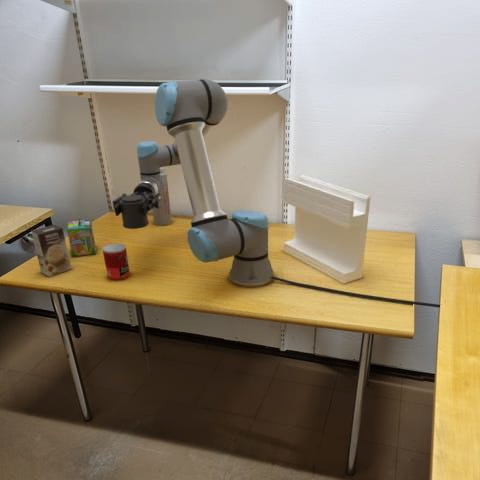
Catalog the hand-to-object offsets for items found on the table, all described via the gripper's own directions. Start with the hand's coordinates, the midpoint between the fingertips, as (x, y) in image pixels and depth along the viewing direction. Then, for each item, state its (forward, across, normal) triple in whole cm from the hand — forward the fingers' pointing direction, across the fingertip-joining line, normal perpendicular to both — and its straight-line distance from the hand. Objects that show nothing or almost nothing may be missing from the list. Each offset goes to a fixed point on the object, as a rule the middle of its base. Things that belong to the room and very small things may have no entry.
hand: (129, 211), depth 156 cm
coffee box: (-7, +33, -24) cm, 41 cm away
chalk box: (-25, +29, -24) cm, 45 cm away
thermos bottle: (-59, +4, -24) cm, 64 cm away
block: (-12, -64, -24) cm, 70 cm away
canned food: (-2, +8, -24) cm, 26 cm away
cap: (-5, 0, -6) cm, 8 cm away
